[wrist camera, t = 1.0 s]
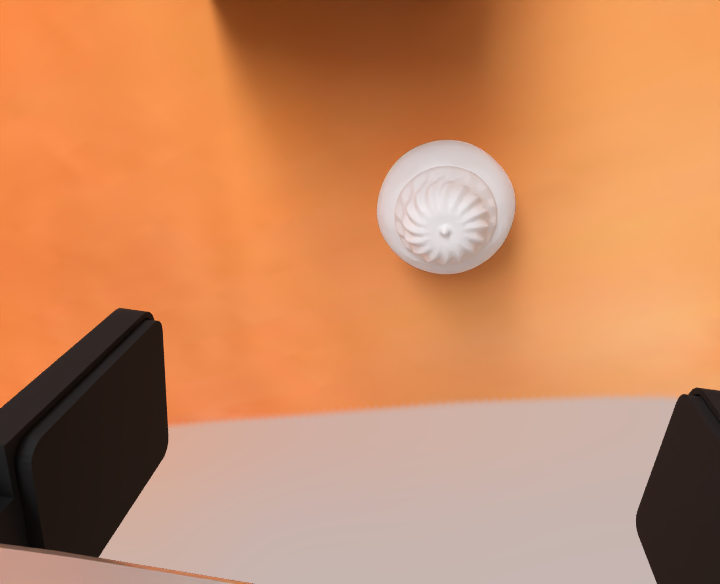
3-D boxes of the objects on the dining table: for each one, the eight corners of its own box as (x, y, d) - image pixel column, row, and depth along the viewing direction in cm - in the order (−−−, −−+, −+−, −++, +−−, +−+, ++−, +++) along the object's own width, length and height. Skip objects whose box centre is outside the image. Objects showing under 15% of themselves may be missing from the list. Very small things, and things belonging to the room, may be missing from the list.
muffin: (496, 113, 28) (510, 138, 22) (517, 234, 31) (536, 288, 24) (370, 145, 30) (349, 176, 23) (399, 258, 32) (387, 315, 26)
